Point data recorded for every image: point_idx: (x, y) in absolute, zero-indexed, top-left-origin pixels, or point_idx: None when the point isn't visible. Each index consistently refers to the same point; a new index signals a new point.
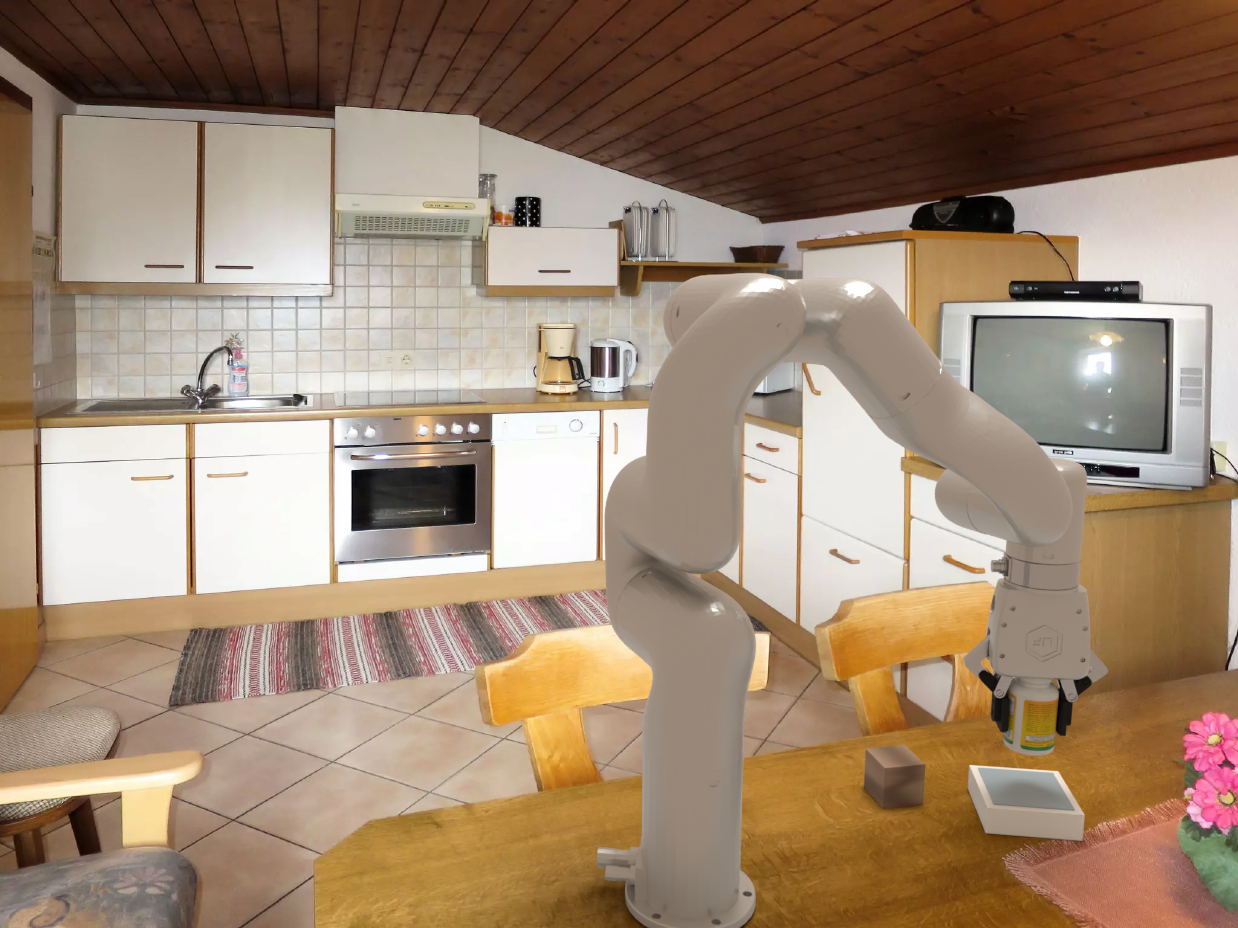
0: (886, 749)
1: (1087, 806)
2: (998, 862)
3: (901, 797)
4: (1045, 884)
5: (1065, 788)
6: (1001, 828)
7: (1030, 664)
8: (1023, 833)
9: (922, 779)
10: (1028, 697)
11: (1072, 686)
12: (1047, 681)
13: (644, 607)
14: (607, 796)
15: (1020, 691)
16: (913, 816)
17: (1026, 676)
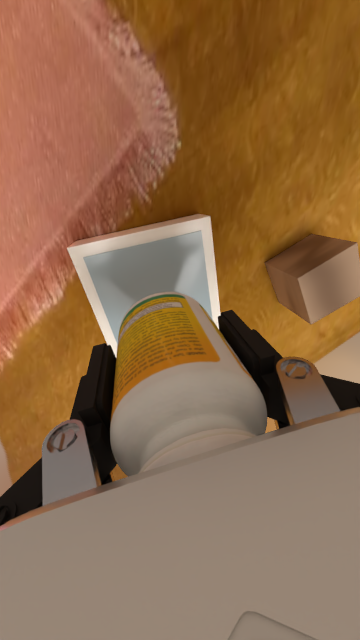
0: (337, 302)
1: (79, 332)
2: (185, 126)
3: (297, 249)
4: (117, 67)
5: (102, 320)
6: (181, 218)
7: (319, 534)
8: (152, 224)
9: (285, 270)
10: (213, 368)
11: (53, 478)
12: (157, 459)
13: None
14: None
15: (243, 386)
16: (280, 226)
17: (280, 433)
